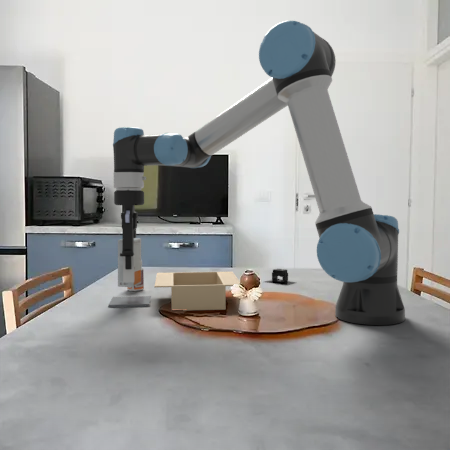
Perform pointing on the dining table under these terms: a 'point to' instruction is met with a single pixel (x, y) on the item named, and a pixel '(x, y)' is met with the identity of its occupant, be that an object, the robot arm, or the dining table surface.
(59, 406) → the dining table surface
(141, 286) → the pill bottle
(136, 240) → the skincare box
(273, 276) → the black boxy piece
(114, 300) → the coaster
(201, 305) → the carton
